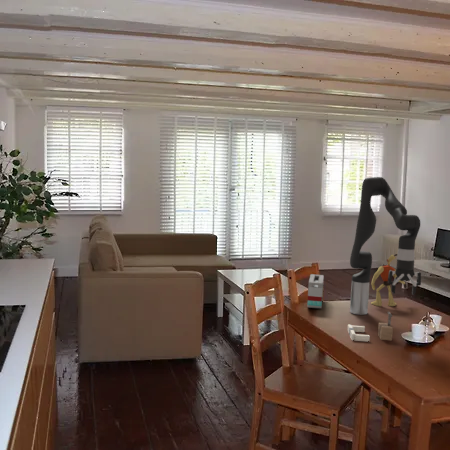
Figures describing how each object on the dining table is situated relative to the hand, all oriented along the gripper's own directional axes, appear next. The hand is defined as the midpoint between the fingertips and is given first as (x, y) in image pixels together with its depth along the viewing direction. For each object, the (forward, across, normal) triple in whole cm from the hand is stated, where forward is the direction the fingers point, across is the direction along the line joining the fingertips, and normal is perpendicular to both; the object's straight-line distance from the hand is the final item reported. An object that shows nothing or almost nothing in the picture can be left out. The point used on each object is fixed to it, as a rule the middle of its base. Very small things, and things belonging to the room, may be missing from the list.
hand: (403, 293), depth 247 cm
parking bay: (+21, +19, +1) cm, 28 cm away
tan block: (+21, +7, +1) cm, 22 cm away
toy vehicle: (+20, +36, -55) cm, 68 cm away
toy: (+20, -6, -62) cm, 66 cm away
